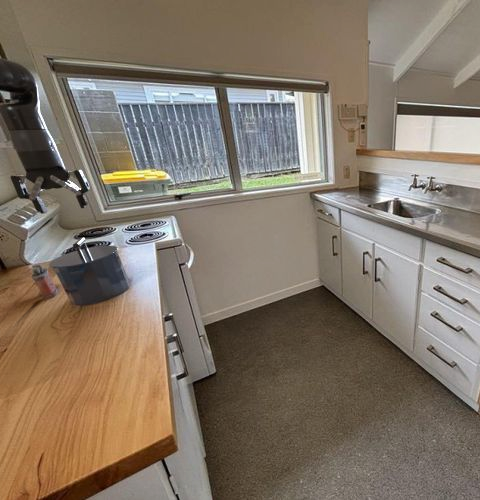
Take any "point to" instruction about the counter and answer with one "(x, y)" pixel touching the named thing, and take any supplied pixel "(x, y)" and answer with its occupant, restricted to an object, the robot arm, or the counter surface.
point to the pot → (94, 281)
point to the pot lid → (83, 255)
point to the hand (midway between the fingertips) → (64, 210)
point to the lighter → (44, 282)
